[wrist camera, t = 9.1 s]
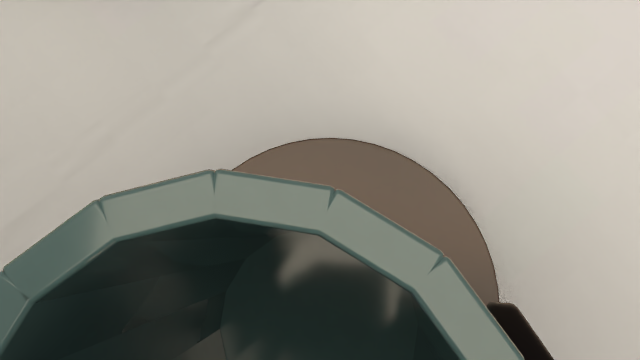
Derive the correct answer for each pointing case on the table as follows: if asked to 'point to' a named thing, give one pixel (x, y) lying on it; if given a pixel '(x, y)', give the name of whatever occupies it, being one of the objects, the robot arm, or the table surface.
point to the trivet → (389, 196)
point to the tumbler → (240, 280)
